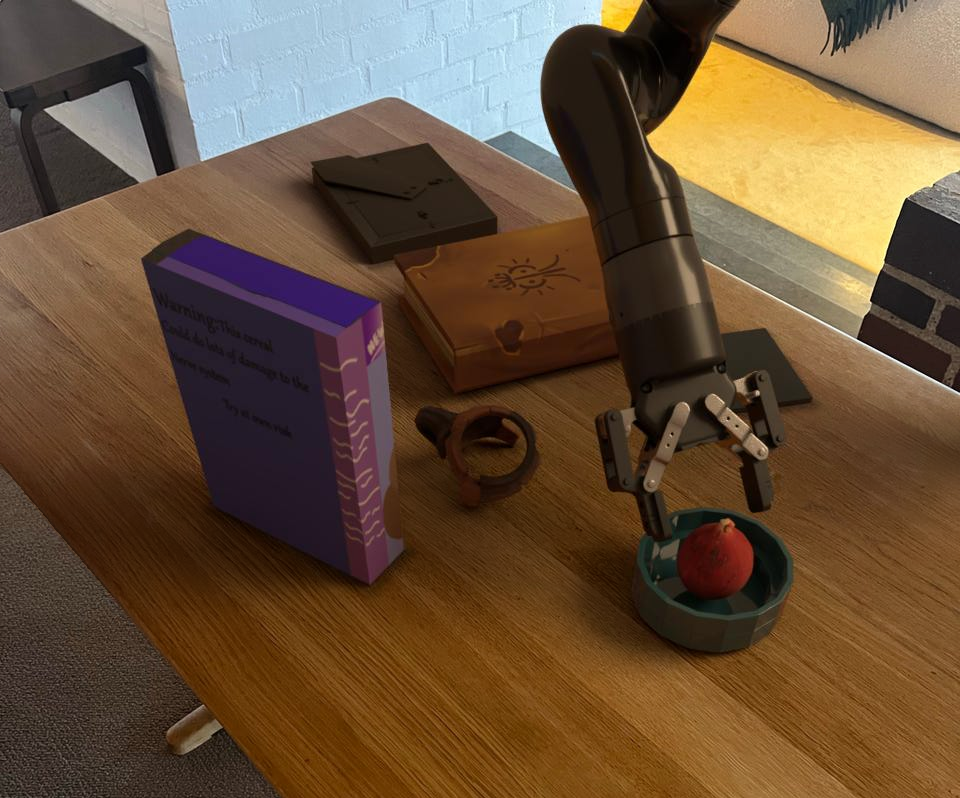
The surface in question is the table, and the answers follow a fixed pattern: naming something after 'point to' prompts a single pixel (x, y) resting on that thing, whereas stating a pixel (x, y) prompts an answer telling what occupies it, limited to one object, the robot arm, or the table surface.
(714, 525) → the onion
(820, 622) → the table surface
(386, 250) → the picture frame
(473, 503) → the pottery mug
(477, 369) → the diary
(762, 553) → the bowl
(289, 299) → the purple book
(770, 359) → the mat
